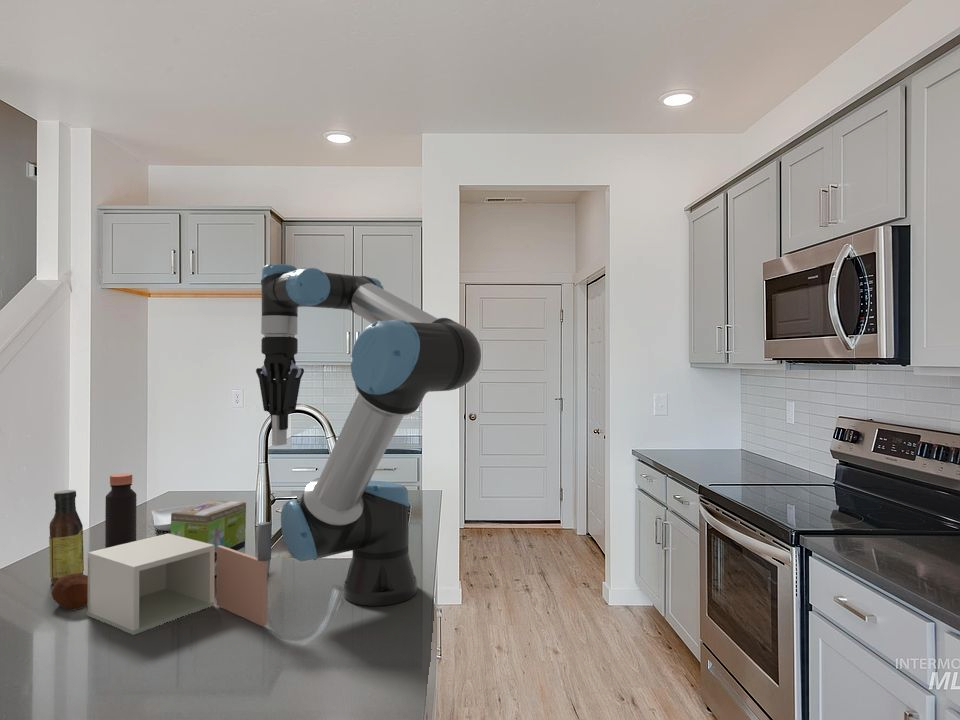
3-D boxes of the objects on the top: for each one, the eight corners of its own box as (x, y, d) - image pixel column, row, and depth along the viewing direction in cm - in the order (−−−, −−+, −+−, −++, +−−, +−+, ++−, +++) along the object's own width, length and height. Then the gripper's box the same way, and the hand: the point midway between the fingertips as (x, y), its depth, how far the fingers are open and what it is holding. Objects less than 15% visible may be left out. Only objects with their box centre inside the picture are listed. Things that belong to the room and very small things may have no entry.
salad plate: (154, 536, 176) (154, 524, 176) (151, 520, 194) (151, 509, 194) (234, 526, 186) (234, 515, 186) (224, 512, 205) (224, 501, 205)
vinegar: (137, 549, 162) (137, 472, 162) (135, 556, 156) (135, 476, 156) (106, 552, 159) (107, 473, 159) (103, 560, 153) (104, 478, 153)
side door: (216, 605, 123) (216, 513, 124) (228, 601, 125) (228, 510, 125) (262, 626, 113) (263, 526, 114) (274, 622, 115) (274, 523, 115)
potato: (54, 617, 119) (54, 583, 119) (49, 603, 126) (49, 571, 126) (97, 608, 123) (97, 575, 123) (89, 595, 130) (90, 564, 130)
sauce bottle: (90, 579, 139) (90, 490, 140) (61, 588, 134) (61, 495, 134) (71, 575, 142) (71, 487, 142) (42, 583, 137) (42, 492, 137)
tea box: (208, 582, 138) (208, 514, 138) (168, 578, 140) (168, 512, 140) (246, 561, 153) (246, 500, 153) (210, 558, 155) (210, 498, 155)
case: (214, 605, 124) (214, 545, 124) (133, 634, 111) (133, 567, 111) (167, 590, 133) (168, 533, 133) (87, 615, 119) (87, 552, 119)
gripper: (313, 336, 136) (313, 444, 136) (273, 337, 143) (273, 441, 143) (286, 335, 130) (286, 448, 130) (245, 336, 137) (245, 444, 137)
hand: (279, 444), depth 136 cm, fingers closed
